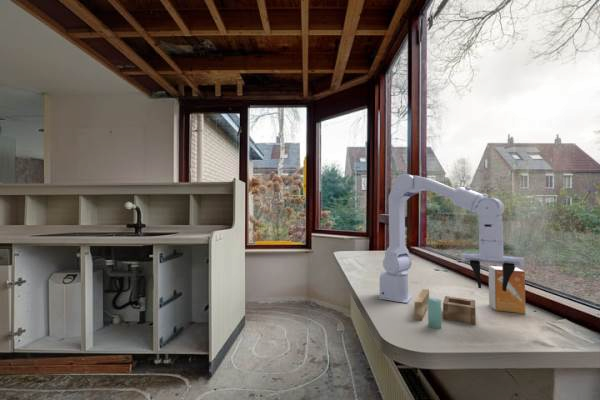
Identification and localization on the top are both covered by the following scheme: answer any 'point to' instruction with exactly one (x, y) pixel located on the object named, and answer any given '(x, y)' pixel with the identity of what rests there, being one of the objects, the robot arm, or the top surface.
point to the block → (459, 310)
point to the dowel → (434, 313)
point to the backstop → (421, 304)
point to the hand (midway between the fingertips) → (491, 288)
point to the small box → (507, 290)
